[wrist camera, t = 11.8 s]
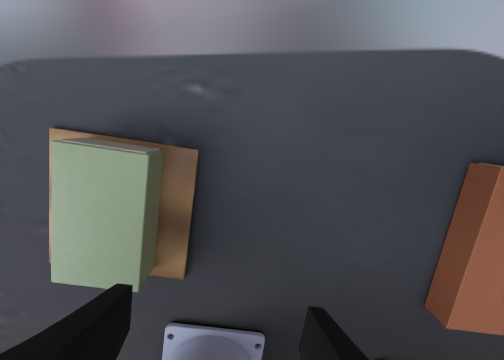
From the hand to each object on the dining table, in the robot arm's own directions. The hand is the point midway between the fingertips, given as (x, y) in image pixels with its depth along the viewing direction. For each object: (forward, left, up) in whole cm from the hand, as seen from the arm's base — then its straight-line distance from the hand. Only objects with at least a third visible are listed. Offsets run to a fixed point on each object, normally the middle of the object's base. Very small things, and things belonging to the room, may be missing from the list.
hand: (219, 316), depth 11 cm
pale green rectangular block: (+1, +8, -9) cm, 12 cm away
